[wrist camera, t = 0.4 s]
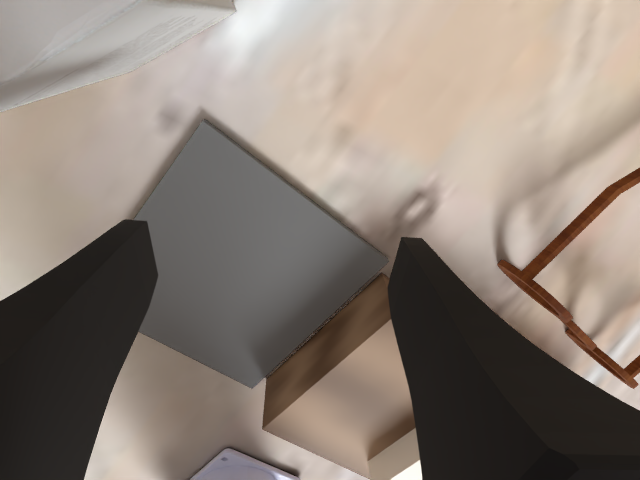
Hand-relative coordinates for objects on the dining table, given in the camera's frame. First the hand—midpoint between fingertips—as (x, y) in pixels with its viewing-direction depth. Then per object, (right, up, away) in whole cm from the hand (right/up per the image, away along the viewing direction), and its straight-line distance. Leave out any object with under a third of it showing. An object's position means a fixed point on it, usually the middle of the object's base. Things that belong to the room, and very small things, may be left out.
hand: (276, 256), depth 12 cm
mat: (-4, -2, +13) cm, 13 cm away
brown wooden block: (+9, -11, +19) cm, 24 cm away
